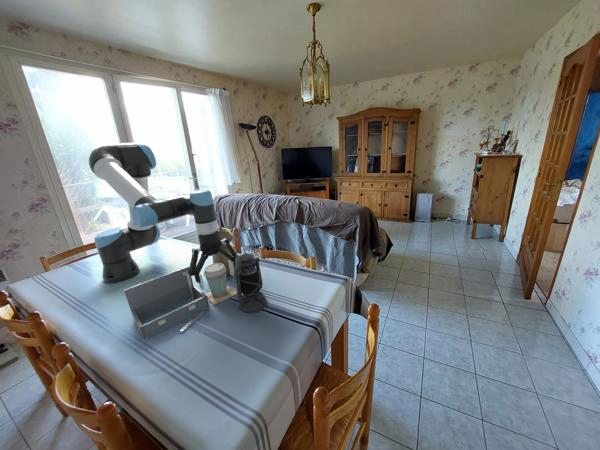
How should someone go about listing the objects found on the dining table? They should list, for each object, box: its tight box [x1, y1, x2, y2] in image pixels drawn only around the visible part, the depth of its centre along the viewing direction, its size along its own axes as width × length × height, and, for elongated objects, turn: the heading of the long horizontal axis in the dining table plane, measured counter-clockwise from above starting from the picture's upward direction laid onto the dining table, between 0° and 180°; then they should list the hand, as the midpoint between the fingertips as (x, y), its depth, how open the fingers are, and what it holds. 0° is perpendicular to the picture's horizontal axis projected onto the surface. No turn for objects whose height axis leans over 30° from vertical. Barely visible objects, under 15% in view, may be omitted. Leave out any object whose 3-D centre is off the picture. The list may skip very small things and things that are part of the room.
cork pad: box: [204, 284, 238, 306], centre depth 101 cm, size 10×10×1 cm
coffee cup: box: [203, 263, 228, 298], centre depth 99 cm, size 8×9×12 cm
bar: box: [179, 311, 204, 334], centre depth 86 cm, size 10×1×1 cm, turn 162°
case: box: [123, 265, 210, 341], centre depth 89 cm, size 15×22×13 cm, turn 134°
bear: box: [211, 225, 240, 276], centre depth 116 cm, size 21×16×25 cm
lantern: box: [233, 229, 268, 315], centre depth 88 cm, size 12×11×30 cm
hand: (218, 281), depth 99 cm, fingers open, 12 cm apart
